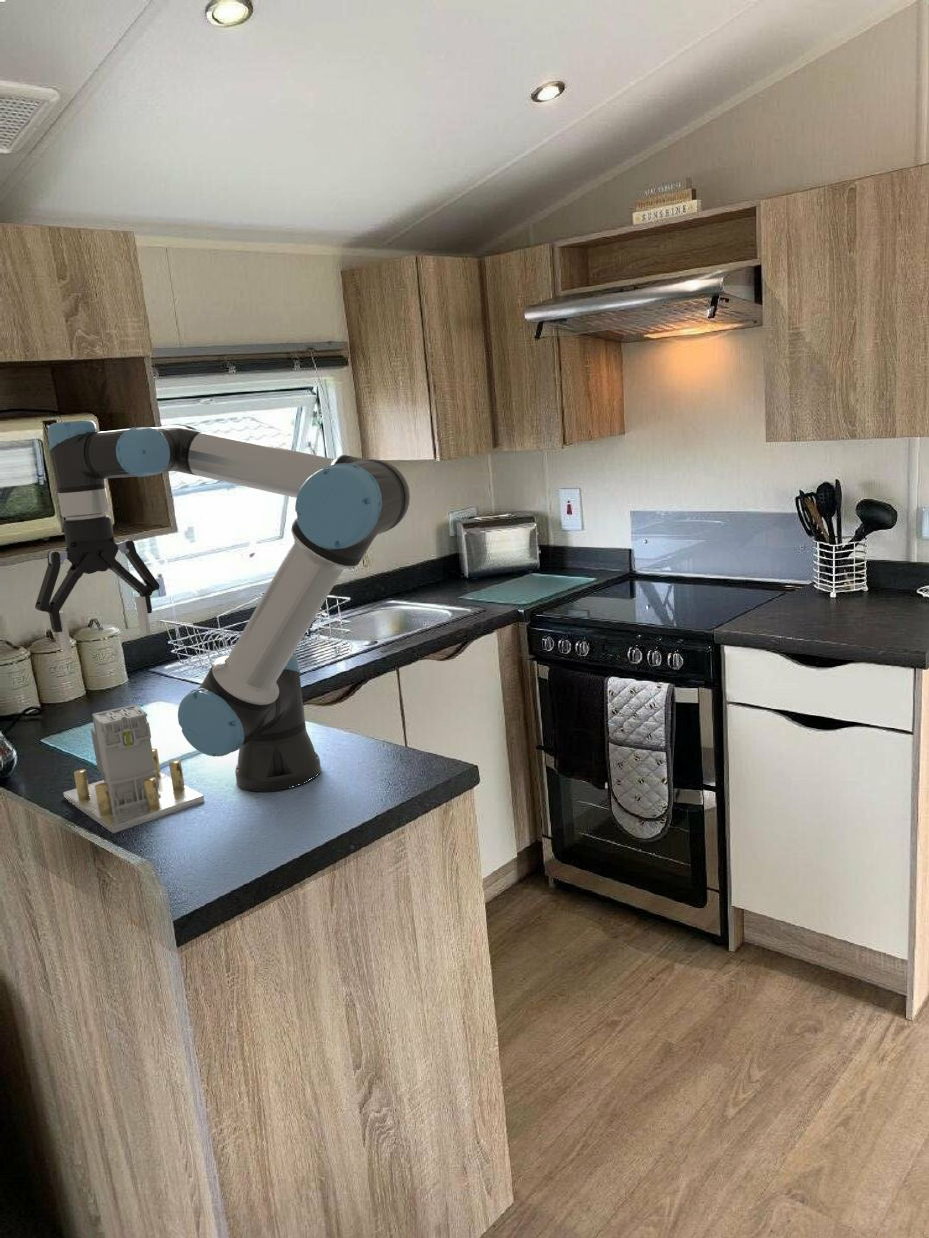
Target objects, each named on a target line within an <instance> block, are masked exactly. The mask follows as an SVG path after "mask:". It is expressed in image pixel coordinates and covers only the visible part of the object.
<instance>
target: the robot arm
mask: <svg viewBox="0 0 929 1238" xmlns="http://www.w3.org/2000/svg"><path fill="white" fill-rule="evenodd" d="M47 434H48V437H47V438H48V446H49V449H48V450H49V454H50V459H51V463H52V469H53V472H54V478H55V484H56V491H57V498H58V502H59V507H60V509H59V510H60V516H61V517H63V518H65V520H63V522H62V527H63V533H64V538H65V544H66V548H65V551H55V550H49V551H48V552H47V557H46V558H47V566H46V570H45V574H44V577H43V580H42V583H41V586H40V589H39V591H38V596H37V599H36V602H35V606H34V607H35V610H36V611H40V612H44V613H45V612H46V613H48V616H49V620H50V622H49V623H50V625H51V630H52V632H54V633H58V637H59V644H60V648H61V650H62V651H63V652H66V653H69V652H72V651H73V648H72V643H71V638H70V633H69V632H70V631H69V628H68V627H69V626H68V622H67V616H66V612H65V611H62V610H61V609H62V607H63V606H64V604H65V602H66V601H67V599H68V597H69V596H70V594H71V592H72V591H73V589H74V588H75V586H76V584H77V583H78V580H79V579H81V578H82V576H83V574H87V575H90V574H95V573H96V572H107V571H108V570H110V571H112V573H114V574H116V576H117V577H119V578H120V579H121V580H123V581H124V582H125V583H126V584H127V585H129V586H130V588H132V589H133V590H134V591H136V592H137V594H139V595H135V596H134V601H135V607H136V612H137V613H136V614H137V621H138V626H139V627H138V628H139V633H141V634H144V635H150V634H152V632H151V631H152V630H151V627H150V620H149V614H152V612H153V607H152V600H151V596H152V595H153V592H155V591H157V590H159V589H160V588H161V587H160V584H159V582H158V581H157V579H156V578H155V576H154V575H153V574H152V572H151V571H150V569H149V568H148V567H147V565H146V563H145V562H144V561H143V559H142V557H140V555H139V553H138V552H137V548H136V544H135V542H134V541H133V540H131V539H123V540H122V541H121V542H117V543H116V541H115V538H114V537H115V536H114V530H113V528H114V527H113V523H112V518H111V516H110V515H107V513H109V512H110V511H111V510H110V509H111V508H110V504H109V498H108V493H107V488H106V486H107V485H106V479H114V478H131V477H135V478H136V477H137V478H143V477H150V476H156V475H159V474H162V473H166V472H167V473H169V472H176V473H177V472H179V473H182V474H188V475H192V476H197V477H203V478H207V479H212V480H215V481H220V482H225V483H228V484H231V485H238V486H241V487H247V488H250V489H256V490H260V491H265V492H268V493H272V494H277V495H282V496H286V497H291V498H294V499H296V500H295V505H294V506H295V508H294V511H295V512H296V517H295V519H294V520H293V522H292V524H291V526H290V531H291V534H292V537H293V539H294V541H293V543H292V544H291V546H290V548H289V549H288V551H287V553H286V555H285V557H284V559H283V560H282V561H281V564H280V566H278V569H277V571H276V573H275V574H274V577H273V578H272V580H271V581H270V583H269V584H268V586H267V588H266V590H265V592H264V594H263V595H262V597H261V599H260V600H259V602H258V605H257V606H256V607H255V608H254V609H255V610H254V611H253V613H252V614H251V616H250V618H249V620H248V622H247V623H246V625H245V627H244V628H243V630H242V632H241V634H240V635H239V637H238V639H237V640H236V643H235V644H234V646H233V647H232V649H231V651H230V653H229V655H223V656H220V657H218V658H216V660H215V661H214V662H213V663H212V665H211V668H209V670H208V671H207V674H206V676H205V677H204V678H203V679H204V680H203V681H202V683H201V684H200V686H199V687H198V688H195V689H192V690H191V691H190V692H188V693H187V694H186V695H185V696H184V697H183V698H182V699H181V701H180V702H179V705H178V709H177V720H178V721H177V722H178V725H179V726H180V728H181V733H182V735H183V737H184V738H185V739H186V741H187V742H188V744H190V745H191V746H192V747H193V748H194V749H195V750H196V751H197V752H200V753H201V754H203V755H205V756H209V757H214V758H215V757H224V756H227V755H230V753H234V752H237V751H238V756H237V764H236V767H235V771H234V772H235V779H236V784H237V785H238V787H239V788H241V789H244V790H246V791H251V792H276V791H277V792H278V791H282V790H281V789H284V790H287V789H286V788H288V789H290V788H289V787H292V786H296V785H298V784H302V783H304V782H306V781H308V780H309V779H311V778H313V777H315V776H316V775H317V774H318V773H319V772H320V769H321V770H322V768H321V760H320V756H319V754H318V753H317V752H316V750H315V747H314V744H313V743H312V740H311V738H310V735H309V734H308V731H307V725H306V718H305V717H306V716H305V710H304V709H305V708H304V702H303V701H304V700H303V693H302V684H301V683H302V682H301V675H300V674H301V671H300V669H299V664H298V659H297V657H296V655H295V654H294V653H295V651H296V649H297V648H298V646H299V644H300V643H301V641H302V639H303V638H304V636H305V634H306V632H307V631H308V629H309V628H310V626H311V624H312V623H313V622H314V620H315V617H316V616H317V615H318V612H319V611H320V609H321V608H322V606H323V605H324V603H325V601H326V599H327V598H328V596H329V594H330V593H331V591H332V589H333V588H334V586H335V585H336V583H337V581H338V580H339V578H340V576H341V575H342V573H343V571H344V570H347V569H352V568H356V567H358V565H359V564H360V562H361V560H362V559H363V557H364V556H365V554H367V553H366V552H367V551H368V549H369V548H370V546H371V544H372V543H373V541H374V539H375V538H376V537H377V536H378V535H380V534H383V533H386V532H388V531H389V530H391V529H394V528H395V527H396V526H397V525H399V524H400V522H402V520H403V519H404V518H405V516H406V514H407V512H408V508H409V505H410V500H411V499H410V497H411V495H410V487H409V484H408V482H407V479H406V478H405V476H404V475H403V473H402V472H401V471H400V470H399V469H398V468H397V467H396V466H395V465H393V464H392V463H389V462H388V461H385V460H381V459H377V458H366V457H365V458H364V457H357V456H351V455H347V454H341V455H340V456H338V457H337V458H335V459H334V458H331V457H326V456H322V455H321V456H320V455H316V454H310V453H307V452H302V451H297V450H292V449H288V448H283V447H279V446H278V447H277V446H273V445H268V444H263V443H258V442H255V441H248V440H244V439H239V438H235V437H230V436H225V435H222V434H221V435H220V434H216V433H212V432H211V433H210V432H206V431H202V430H201V429H200V428H198V427H196V426H194V425H186V424H174V425H167V426H159V427H157V426H156V427H144V426H141V427H131V428H123V429H115V430H107V431H98V429H97V424H96V423H95V421H93V420H74V421H71V420H70V421H64V422H63V421H61V422H53V423H51V424H50V425H49V426H48V428H47ZM119 551H120V553H121V554H124V555H125V557H126V559H127V560H128V562H129V564H131V567H133V569H134V570H135V572H136V573H137V574H138V575H139V577H140V578H141V579H142V581H143V582H141V581H140V580H139V579H138V578H137V577H136V576H134V575H133V574H132V573H131V572H130V571H129V570H127V569H126V568H125V567H124V566H123V564H121V563H120V562H119V561H118V560H117V559H116V556H117V555H118V553H119ZM65 559H67V560H68V562H70V563H71V565H70V567H69V569H68V570H67V572H66V575H65V577H64V578H63V581H62V582H61V584H59V585H60V586H59V587H58V588H57V590H56V591H55V593H54V590H55V586H56V583H57V580H58V577H59V574H60V569H61V566H62V565H63V564H64V563H65ZM53 593H54V595H53ZM52 596H53V597H52ZM320 773H321V772H320ZM302 785H303V784H302ZM296 787H297V786H296Z"/></svg>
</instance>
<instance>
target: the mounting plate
mask: <svg viewBox="0 0 929 1238" xmlns="http://www.w3.org/2000/svg"><path fill="white" fill-rule="evenodd" d="M152 752H153V758H154V765H155V770H156V771H157V776H158V783H159V789H158V788H157V782H156V778H155V777H150V778H146V779H144V780H143V781H144V787H145V793H146V799H147V801H144V802H140V803H137V804H133V805H129V806H126V807H122V808H118V809H116V808H115V807H114V805H113V804H112V803H111V801H110V795H109V789H108V784H107V783H104V780H103V779H102V780H99V781H96V782H92V783H90V784H89V781H88V780H89V779H88V773H87V770H86V769H79V770H78V769H77V770H75V771H73V776H74V782H75V788H73V789H70V790H66V791H64V792H63V793H62V794H63V797H65V798H66V799H67V800H68V802H69V803H70V804H71V803H72V804H71V805H72V806H74V805H75V806H74V807H75V808H77V809H78V810H80V811H81V812H83V813H84V814H86V815H87V816H88V817H90V818H91V819H92V820H93V821H95V822H97V823H98V824H99V825H101V826H102V827H104V828H105V829H106V830H108V831H109V832H111V833H112V834H115V833H118V832H121V831H124V830H128V829H130V828H133V827H136V826H138V825H141V824H145V823H147V822H150V821H153V820H156V819H159V818H162V817H165V816H168V815H170V814H173V813H176V812H179V811H181V810H184V809H188V808H192V807H193V806H196V805H201V804H202V803H205V797H204V795H203V794H202V793H200V792H198V791H197V790H194V789H193V788H191V787H189V786H187V785H186V784H185V779H184V773H183V767H182V760H179V759H177V760H171V761H169V762H168V766H169V771H170V772H169V773H170V776H169V775H167V774H165V773H163V772H161V765H160V761H159V752H158V748H152ZM158 793H159V794H160V795H161V797H159V794H158ZM66 799H65V800H66ZM67 800H66V801H67ZM121 805H123V804H121Z"/></svg>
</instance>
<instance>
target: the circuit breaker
mask: <svg viewBox="0 0 929 1238" xmlns="http://www.w3.org/2000/svg"><path fill="white" fill-rule="evenodd" d="M91 716H92V721H93V727H92V728H90V732H91V739H92V744H93V750H94V756H95V757H94V758H95V762H96V768H97V769H98V771H99V772H100V774H101V775H102V780H104V783H107V784H108V789H109V795H110V801H111V803H112V804H113V805H114V807H115V808H116V809H118V808H122V807H126V806H129V805H133V804H137V803H140V802H144V801H147V799H146V793H145V787H144V781H143V780H144V779H146V778H150V777H155V778H156V782H157V788H158V789H159V783H158V776H157V771H156V770H155V765H154V758H153V752H152V749H153V748H152V747H153V746H152V741H151V738H152V734H151V727H150V723H149V722H148V719H147V717H148V713H146V711H145V710H144V709H143V708H141V707H140V705H138V704H136V703H135V704H131V705H130V704H129V705H126V706H121V707H118V708H112V709H108V710H104V711H100V712H99V711H98V712H95V713H92V715H91ZM158 794H159V793H158ZM159 797H161V795H160V794H159ZM121 804H123V805H121Z"/></svg>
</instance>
